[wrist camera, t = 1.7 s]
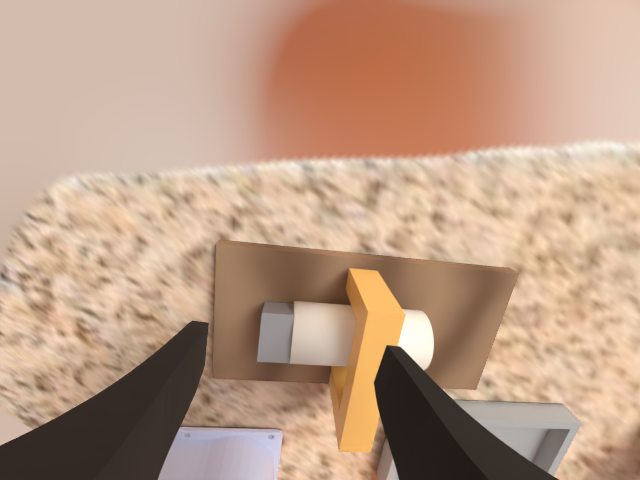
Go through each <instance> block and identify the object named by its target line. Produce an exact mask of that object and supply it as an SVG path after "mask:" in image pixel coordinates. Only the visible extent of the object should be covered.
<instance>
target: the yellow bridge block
mask: <svg viewBox="0 0 640 480" xmlns="http://www.w3.org/2000/svg"><path fill="white" fill-rule="evenodd" d="M346 292H347V295H348V297H349V300H350V303H351V306H352V309H353V312H354V315H355V318H356V321H357V324H356V329H355V334H354V339H353V344H352V349H351V354H350V360H349V365H348V367H344V366H332V368H331V373H330V379H329V386H330V393H331V400H332V407H333V414H334V421H335V428H336V435H337V441H338V448H339V452H371V449H372V445H373V441H374V437H375V433H376V429H377V425H378V421H379V417H380V414H379V410H378V406H377V400H376V395H375V388H374V380H375V377H376V374H377V371H378V369H379V366H380V363H381V360H382V357H383V354H384V351H385V348H386V345H391V346H398V343H399V339H400V335H401V331H402V327H403V323H404V319H405V315H406V314H405V313H404V311H403V310H402V308H401V307H400V305H399V304H398V302H397V300H396V299H395V297H394V296H393V294H392V293H391V291H390V290H389V288H388V286H387V285H386V283H385V282H384V280H383V279H382V277H381V276H380V274H379V272H378V271H375V270H364V269H353V268H349V272H348V278H347V284H346Z"/></svg>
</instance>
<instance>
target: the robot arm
mask: <svg viewBox="0 0 640 480" xmlns="http://www.w3.org/2000/svg"><path fill="white" fill-rule="evenodd" d="M208 325H209V323H206V322H198V321H191V322H190V323H188V324H187V325H186V326H185V327H184V328H183V329H182V330H181V331H180V332H179V333H178V334H176V335H175V336H174V337H173V338H172V339H171V340H170V341H168V342H167V343H166V344H165V345H164V346H163V347H161V348H160V349H159V350H158V351H157V352H155V353H154V354H153V355H152V356H150V357H149V358H148V359H147V360H145V361H144V362H143V363H141V364H140V365H139V366H137V367H136V368H135V369H133V370H132V371H131V372H129V373H128V374H127V375H125V376H124V377H122V378H121V379H120V380H118V381H117V382H115V383H114V384H112V385H111V386H109V387H108V388H106V389H105V390H103V391H101V392H100V393H98V394H97V395H95V396H94V397H92V398H90V399H89V400H87V401H85V402H84V403H82V404H80V405H78V406H77V407H75V408H73V409H71V410H70V411H68V412H66V413H64V414H63V415H61V416H59V417H57V418H55V419H53V420H51V421H50V422H48V423H46V424H44V425H42V426H40V427H38V428H36V429H34V430H32V431H30V432H28V433H26V434H24V435H22V436H20V437H18V438H16V439H13V440H11V441H9V442H7V443H5V444H3V445H1V446H0V480H277V477H278V469H279V461H280V453H281V446H282V438H283V432H282V431H281V430H279V429H246V428H204V427H180V426H181V424H182V421H183V419H184V417H185V415H186V413H187V410H188V408H189V406H190V404H191V402H192V399H193V397H194V395H195V393H196V390H197V387H198V384H199V381H200V378H201V375H202V372H203V369H204V366H205V356H206V346H207V335H208ZM374 388H375V395H376V400H377V406H378V410H379V414H380V417H381V420H382V424H383V427H384V431H385V434H386V437H387V440H388V444H389V447H390V450H391V454H392V457H393V460H394V463H395V467H396V470H397V474H398V478H399V480H558V479H557V478H555V477H554V476H552V475H551V474H549V473H547V472H546V471H544V470H543V469H541V468H540V467H538V466H537V465H535V464H534V463H532V462H531V461H529V460H528V459H526V458H525V457H523V456H522V455H521V454H519V453H518V452H516V451H515V450H514V449H512V448H511V447H510V446H508V445H507V444H505V443H504V442H503V441H501V440H500V439H499V438H497V437H496V436H495V435H494V434H492V433H491V432H490V431H488V430H487V429H486V428H485V427H484V426H482V425H481V424H480V423H479V422H478V421H476V420H475V419H474V418H473V417H471V416H470V415H469V414H468V413H467V412H466V411H465V410H464V409H462V408H461V407H460V406H459V405H458V404H457V403H456V402H455V401H454V400H453V399H452V398H451V397H450V396H448V395H447V394H446V393H445V392H444V391H443V390H442V389H441V388H440V387H439V386H438V385H437V384H436V383H435V382H434V381H433V380H432V379H431V378H430V377H429V375H428V374H427V373H426V372H425V371H424V370H423V369H422V368H421V367H420V366H419V365H418V364H417V363H416V362H415V361H414V360H413V359H412V358H411V357H410V356H409V355H408V354H407V352H406V351H405V350H403V349H402V348H401V347H399V346H391V345H386V348H385V351H384V354H383V357H382V360H381V363H380V366H379V369H378V371H377V374H376V377H375V380H374Z"/></svg>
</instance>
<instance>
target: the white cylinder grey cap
mask: <svg viewBox="0 0 640 480" xmlns="http://www.w3.org/2000/svg"><path fill="white" fill-rule="evenodd" d="M402 310H403V311H404V313H405V314H406V315H405V319H404V323H403V327H402V331H401V335H400V339H399V343H398V346H399V347H401V348H402V349H403V350H405V351H406V352H407V354H408V355H409V356H410V357H411V358H412V359H413V360H414V361H415V362H416V363H417V364H418V365H419V366H420V367H421V368H422V369H423V370H425V369H427V368H428V366H429V365H430V363H431V360H432V356H433V350H434V338H433V331H432V327H431V323H430V321H429V319H428V317H427V315H426V314H425V313H424V312H423V311H420V310H408V309H402ZM356 324H357V321H356V318H355V315H354V312H353V309H352V306H351V305H342V304H329V303H316V302H303V301H294V303H293V304H289V303H276V302H265V304H264V307H263V311H262V316H261V326H260V336H259V346H258V356H257V362H274V363H289V364H304V365H324V366H344V367H348V365H349V360H350V354H351V349H352V344H353V339H354V334H355V329H356Z"/></svg>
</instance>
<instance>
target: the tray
mask: <svg viewBox="0 0 640 480" xmlns="http://www.w3.org/2000/svg"><path fill="white" fill-rule="evenodd" d="M454 401H455V402H456V403H457V404H458V405H459V406H460V407H461V408H462V409H464V410H465V411H466V412H467V413H468V414H469V415H470V416H471V417H473V418H474V419H475V420H476V421H478V422H479V423H480V424H481V425H482V426H484V427H485V428H486V429H487V430H488V431H490V432H491V433H492V434H494V435H495V436H496V437H497V438H499V439H500V440H501V441H503V442H504V443H505V444H507V445H508V446H510V447H511V448H512V449H514V450H515V451H516V452H518V453H519V454H521V455H522V456H523V457H525V458H526V459H528V460H529V461H531V462H532V463H534V464H535V465H537V466H538V467H540V468H541V469H543V470H544V471H546V472H547V473H549V474H551V475H552V476H554V474H555V472H556V470H557V468H558V467H559V465H560V463H561V461H562V459H563V457H564V455H565V453H566V452H567V450H568V448H569V446H570V444H571V442H572V440H573V438H574V436H575V435H576V433H577V431H578V429H579V427H580V425H581V423H582V422H581V421H580V420H578V419H577V418H576V417H575V416H574V415H573V414H572V413H571V412H570V411H569V410H568V409H567V408H566V407H565V406H564V405H563V404H551V403H525V402H499V401H474V400H454ZM376 475H377V479H378V480H399V478H398V474H397V470H396V467H395V463H394V460H393V457H392V454H391V450H390V447H389V444H388V440H387V437H386V439H385V443H384V446H383V450H382V454H381V457H380V461H379V465H378V468H377V472H376Z"/></svg>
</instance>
